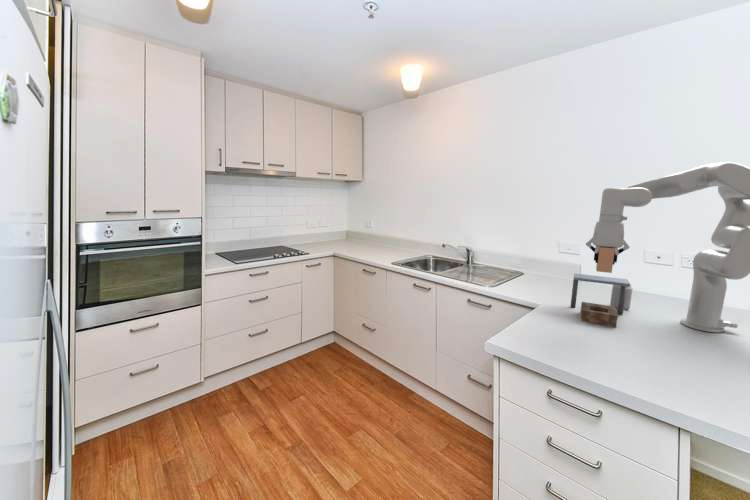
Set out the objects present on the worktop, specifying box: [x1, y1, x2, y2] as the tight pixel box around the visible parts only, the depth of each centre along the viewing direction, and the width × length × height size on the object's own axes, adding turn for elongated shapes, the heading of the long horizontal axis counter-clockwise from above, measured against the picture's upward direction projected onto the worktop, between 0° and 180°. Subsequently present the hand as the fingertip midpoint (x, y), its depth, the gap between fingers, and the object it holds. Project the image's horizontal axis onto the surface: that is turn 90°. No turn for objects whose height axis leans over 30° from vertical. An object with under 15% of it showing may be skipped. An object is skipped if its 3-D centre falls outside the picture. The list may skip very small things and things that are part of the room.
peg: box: [595, 247, 615, 274], centre depth 133 cm, size 5×5×10 cm
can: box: [609, 283, 634, 311], centre depth 153 cm, size 8×8×12 cm
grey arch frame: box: [569, 272, 631, 316], centre depth 145 cm, size 20×9×16 cm, turn 59°
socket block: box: [580, 301, 619, 328], centre depth 139 cm, size 12×13×5 cm
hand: (604, 262), depth 133 cm, fingers closed on peg, 4 cm apart
